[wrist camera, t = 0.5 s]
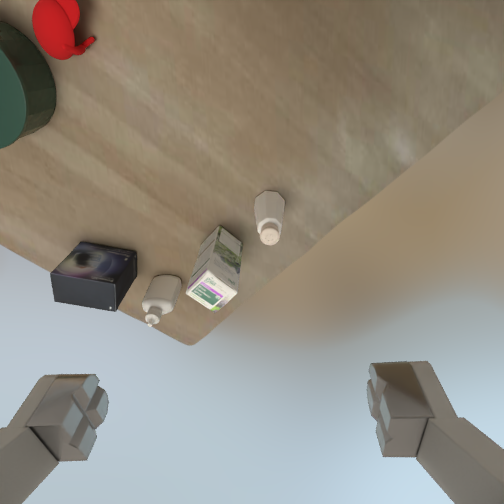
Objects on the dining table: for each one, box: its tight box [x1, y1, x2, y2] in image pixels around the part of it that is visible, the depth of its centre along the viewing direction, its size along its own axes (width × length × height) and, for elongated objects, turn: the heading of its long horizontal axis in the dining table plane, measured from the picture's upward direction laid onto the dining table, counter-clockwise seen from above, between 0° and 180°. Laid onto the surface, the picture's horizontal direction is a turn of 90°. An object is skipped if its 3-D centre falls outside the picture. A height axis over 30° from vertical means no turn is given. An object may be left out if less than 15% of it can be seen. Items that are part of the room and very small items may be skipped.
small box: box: [50, 242, 137, 312], centre depth 59 cm, size 11×6×10 cm, turn 80°
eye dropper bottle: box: [142, 275, 182, 327], centre depth 61 cm, size 4×6×12 cm
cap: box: [32, 0, 95, 60], centre depth 41 cm, size 8×6×6 cm
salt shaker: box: [254, 191, 285, 245], centre depth 51 cm, size 5×5×11 cm
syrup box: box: [186, 226, 243, 313], centre depth 54 cm, size 6×6×14 cm
